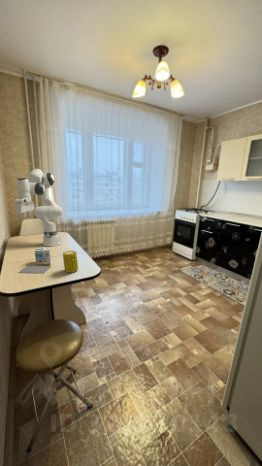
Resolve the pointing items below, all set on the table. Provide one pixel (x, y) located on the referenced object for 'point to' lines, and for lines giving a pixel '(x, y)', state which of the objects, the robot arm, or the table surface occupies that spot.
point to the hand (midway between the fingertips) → (26, 217)
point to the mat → (34, 269)
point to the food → (70, 261)
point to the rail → (39, 264)
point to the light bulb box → (43, 255)
